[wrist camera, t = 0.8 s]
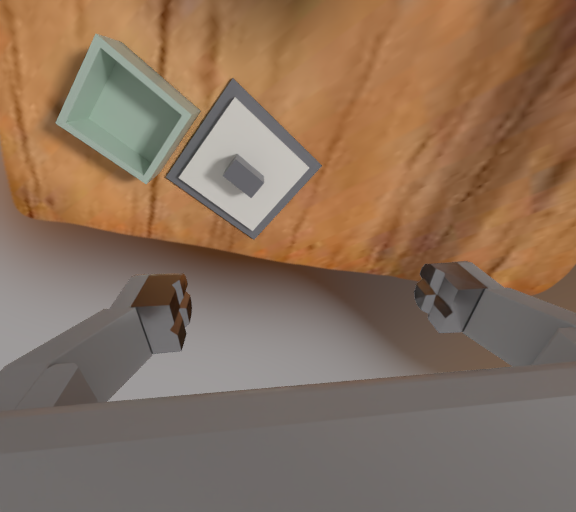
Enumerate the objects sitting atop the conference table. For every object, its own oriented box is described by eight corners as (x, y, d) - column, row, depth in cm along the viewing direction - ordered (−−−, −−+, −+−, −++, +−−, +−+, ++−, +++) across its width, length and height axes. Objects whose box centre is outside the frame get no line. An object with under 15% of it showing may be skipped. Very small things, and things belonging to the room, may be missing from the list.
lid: (235, 97, 36) (232, 98, 32) (308, 166, 42) (313, 174, 38) (179, 176, 41) (172, 184, 37) (252, 228, 47) (252, 240, 43)
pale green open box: (121, 41, 32) (95, 33, 27) (200, 110, 37) (191, 114, 32) (83, 118, 36) (55, 123, 31) (160, 172, 41) (146, 184, 36)
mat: (232, 78, 35) (232, 78, 35) (321, 165, 42) (321, 165, 42) (166, 176, 41) (165, 177, 41) (254, 238, 48) (254, 239, 48)
